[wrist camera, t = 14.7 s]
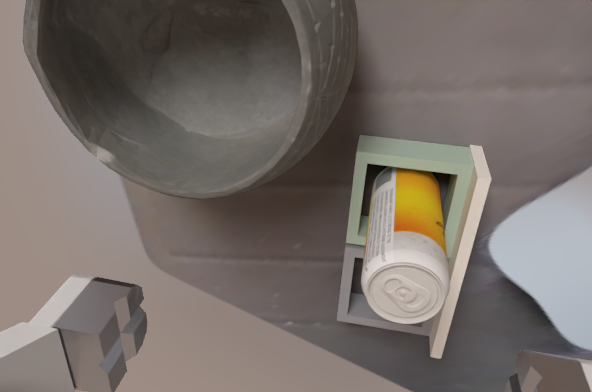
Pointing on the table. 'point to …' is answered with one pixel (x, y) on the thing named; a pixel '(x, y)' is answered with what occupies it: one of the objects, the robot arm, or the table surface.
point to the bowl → (194, 84)
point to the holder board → (456, 219)
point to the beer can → (405, 247)
